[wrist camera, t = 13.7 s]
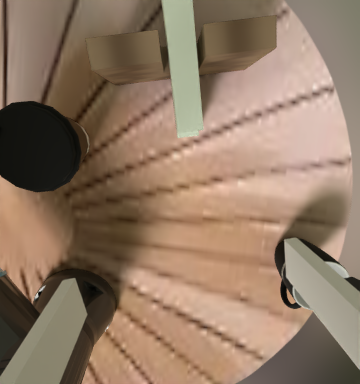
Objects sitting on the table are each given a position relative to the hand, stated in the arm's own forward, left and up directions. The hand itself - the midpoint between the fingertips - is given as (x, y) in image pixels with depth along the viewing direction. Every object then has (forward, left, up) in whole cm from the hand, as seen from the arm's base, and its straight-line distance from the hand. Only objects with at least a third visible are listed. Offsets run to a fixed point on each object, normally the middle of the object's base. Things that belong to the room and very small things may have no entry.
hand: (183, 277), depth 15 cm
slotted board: (+3, +17, -28) cm, 33 cm away
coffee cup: (-16, +8, -28) cm, 34 cm away
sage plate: (+2, +17, -28) cm, 33 cm away
